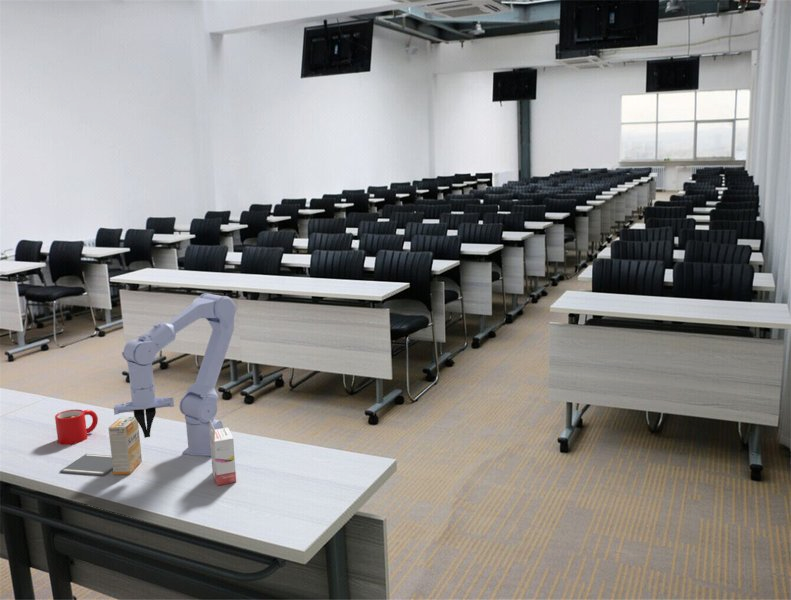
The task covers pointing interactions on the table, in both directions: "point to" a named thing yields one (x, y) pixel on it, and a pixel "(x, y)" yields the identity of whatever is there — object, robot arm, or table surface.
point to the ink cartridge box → (222, 455)
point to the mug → (74, 426)
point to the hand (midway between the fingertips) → (147, 436)
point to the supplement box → (125, 445)
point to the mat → (90, 465)
